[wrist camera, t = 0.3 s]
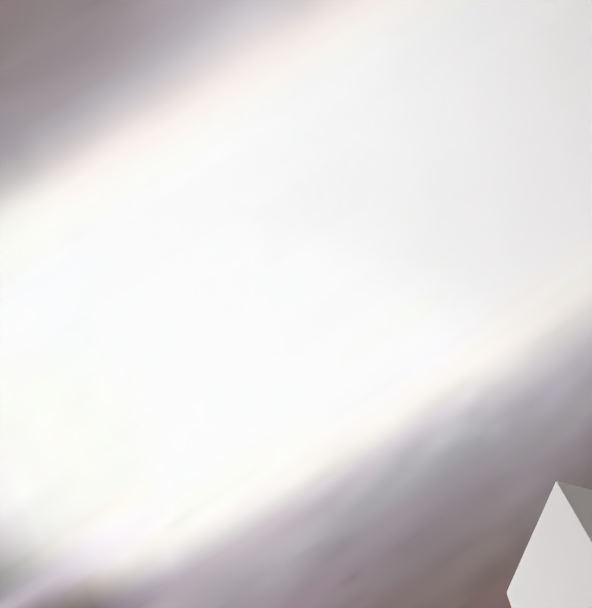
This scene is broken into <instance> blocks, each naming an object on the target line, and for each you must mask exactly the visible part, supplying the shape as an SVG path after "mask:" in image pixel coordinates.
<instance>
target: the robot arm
mask: <svg viewBox="0 0 592 608" xmlns="http://www.w3.org/2000/svg"><path fill="white" fill-rule="evenodd" d="M507 595H508V598H509V601H510V604H511V607H512V608H592V490H589V489H585V488H582V487H578V486H574V485H570V484H566V483H562V482H558V481H556V483H555V485H554V487H553V490H552V492H551V494H550V496H549V499H548V501H547V503H546V505H545V507H544V510H543V512H542V514H541V516H540V519H539V521H538V523H537V525H536V528H535V530H534V532H533V534H532V537H531V539H530V541H529V543H528V546H527V548H526V550H525V552H524V555H523V557H522V559H521V561H520V563H519V566H518V568H517V570H516V572H515V575H514V577H513V579H512V581H511V584H510V586H509V588H508V590H507Z"/></svg>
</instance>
